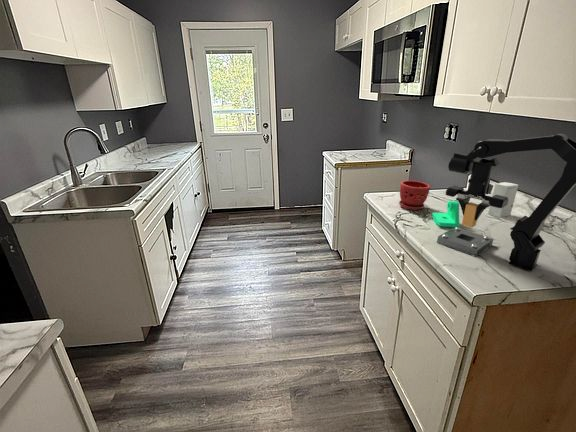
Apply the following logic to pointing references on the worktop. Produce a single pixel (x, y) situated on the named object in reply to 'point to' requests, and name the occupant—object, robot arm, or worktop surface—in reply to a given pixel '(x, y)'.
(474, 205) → the tan square peg
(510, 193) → the skincare box
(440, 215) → the camera mount
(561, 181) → the robot arm
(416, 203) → the plant pot
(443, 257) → the worktop surface
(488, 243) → the grey square hole plate
